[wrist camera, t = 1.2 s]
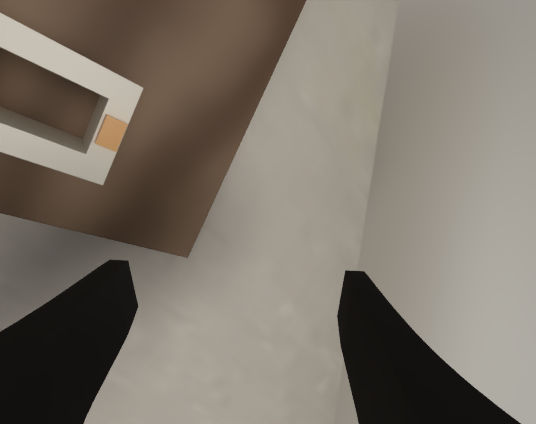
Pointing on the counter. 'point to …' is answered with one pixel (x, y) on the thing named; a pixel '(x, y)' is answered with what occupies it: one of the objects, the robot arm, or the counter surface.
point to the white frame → (54, 140)
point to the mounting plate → (143, 109)
